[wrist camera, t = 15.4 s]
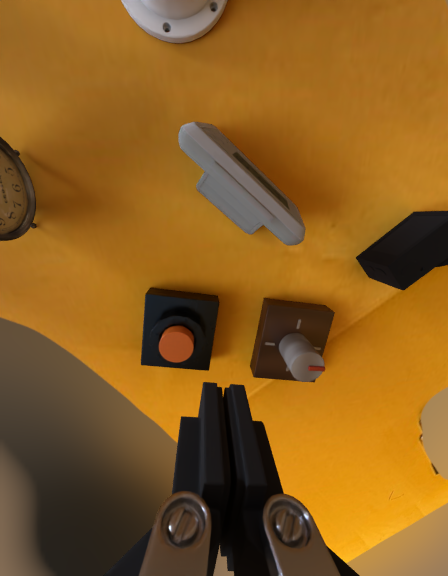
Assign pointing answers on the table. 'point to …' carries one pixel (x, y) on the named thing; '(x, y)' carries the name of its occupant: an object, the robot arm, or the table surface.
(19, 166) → the alarm clock
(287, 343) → the dial
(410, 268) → the digital camera
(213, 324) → the button box
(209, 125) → the digital clock
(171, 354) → the button
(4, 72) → the table surface
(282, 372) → the dial panel
